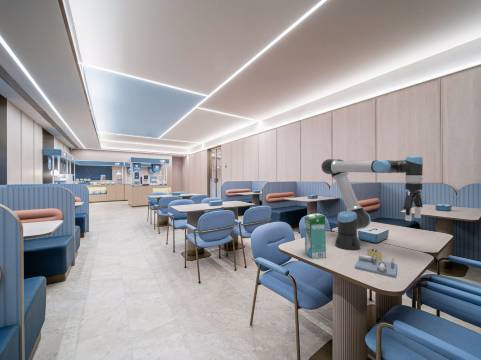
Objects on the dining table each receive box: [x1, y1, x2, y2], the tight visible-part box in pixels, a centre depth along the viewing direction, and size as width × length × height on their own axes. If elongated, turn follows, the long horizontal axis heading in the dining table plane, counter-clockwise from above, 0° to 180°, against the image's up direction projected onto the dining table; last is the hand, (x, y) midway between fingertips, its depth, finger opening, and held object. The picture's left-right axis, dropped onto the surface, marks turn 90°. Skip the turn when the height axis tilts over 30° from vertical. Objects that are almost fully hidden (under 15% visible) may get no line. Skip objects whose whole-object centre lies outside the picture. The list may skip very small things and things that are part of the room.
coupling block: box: [366, 248, 383, 261], centre depth 118 cm, size 5×5×6 cm
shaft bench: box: [354, 253, 398, 279], centre depth 107 cm, size 17×16×4 cm
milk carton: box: [304, 213, 327, 259], centre depth 125 cm, size 9×9×25 cm
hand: (413, 219), depth 119 cm, fingers open, 13 cm apart
